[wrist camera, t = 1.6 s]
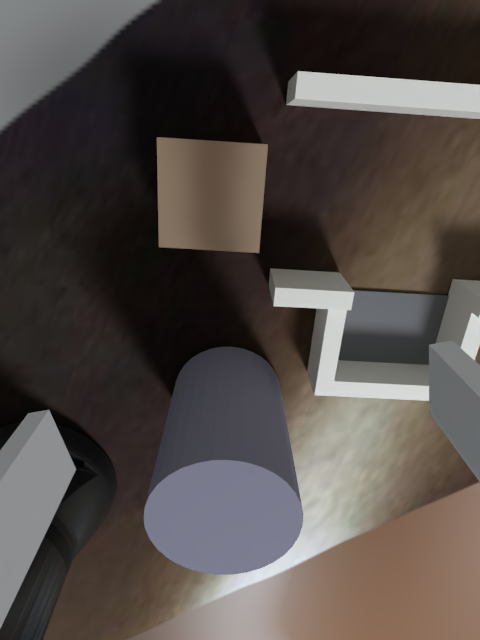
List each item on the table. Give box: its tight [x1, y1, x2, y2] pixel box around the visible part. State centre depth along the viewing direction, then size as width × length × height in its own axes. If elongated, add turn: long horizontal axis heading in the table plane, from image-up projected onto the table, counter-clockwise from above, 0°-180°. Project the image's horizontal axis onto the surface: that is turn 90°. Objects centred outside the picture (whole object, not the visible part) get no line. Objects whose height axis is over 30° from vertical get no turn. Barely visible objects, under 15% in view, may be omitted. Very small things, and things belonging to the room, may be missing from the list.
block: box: [157, 137, 268, 253], centre depth 30 cm, size 7×7×6 cm
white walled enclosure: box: [269, 71, 480, 401], centre depth 33 cm, size 22×24×5 cm
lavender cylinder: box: [144, 347, 303, 574], centre depth 33 cm, size 10×10×15 cm
